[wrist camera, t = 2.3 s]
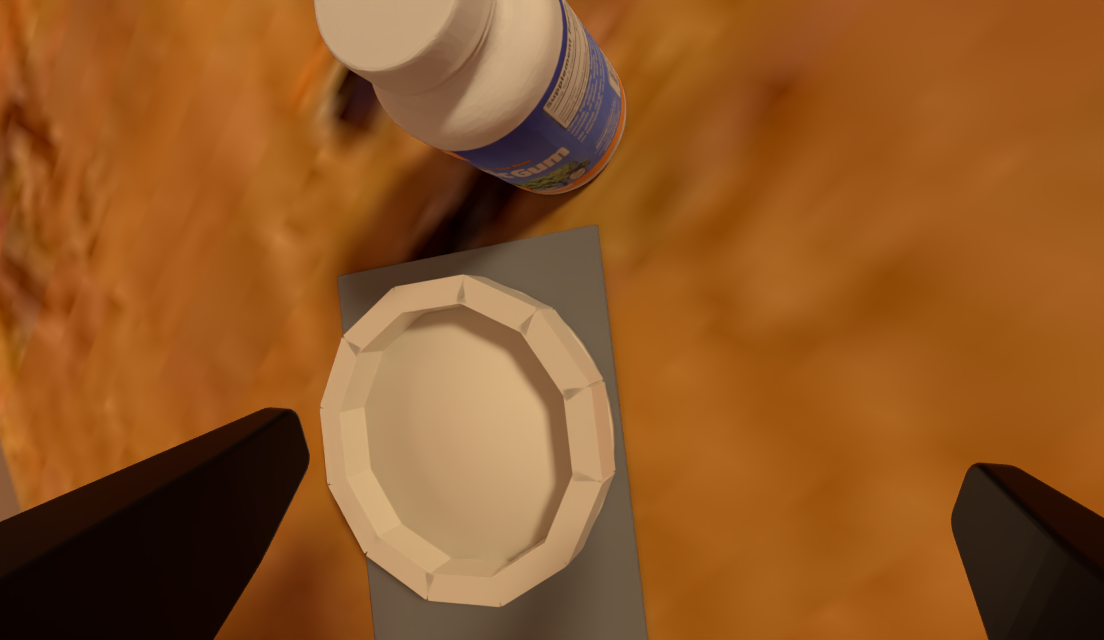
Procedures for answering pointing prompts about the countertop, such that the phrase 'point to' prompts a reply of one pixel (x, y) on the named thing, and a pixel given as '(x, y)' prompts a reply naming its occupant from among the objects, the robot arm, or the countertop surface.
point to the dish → (467, 439)
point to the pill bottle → (488, 82)
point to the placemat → (610, 550)
